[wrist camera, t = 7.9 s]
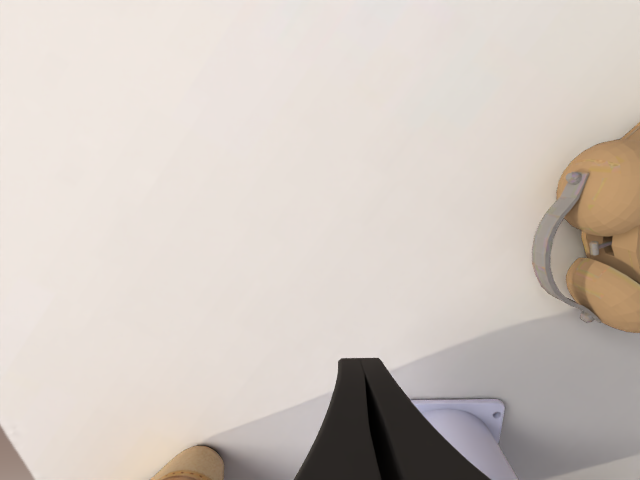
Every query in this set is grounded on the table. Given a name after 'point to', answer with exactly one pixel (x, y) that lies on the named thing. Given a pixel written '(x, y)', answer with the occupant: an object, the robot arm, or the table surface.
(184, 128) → the table surface
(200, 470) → the boot
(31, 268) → the table surface
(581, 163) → the alarm clock
